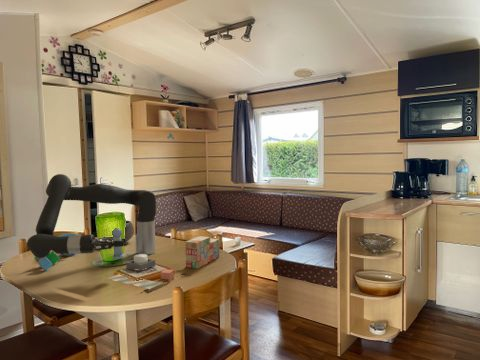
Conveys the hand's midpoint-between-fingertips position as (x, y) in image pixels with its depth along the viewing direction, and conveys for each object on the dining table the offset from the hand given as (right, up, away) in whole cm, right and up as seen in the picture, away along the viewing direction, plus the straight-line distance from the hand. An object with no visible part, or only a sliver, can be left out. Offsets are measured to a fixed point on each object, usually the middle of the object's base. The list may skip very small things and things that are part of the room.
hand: (124, 242), depth 155 cm
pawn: (-3, -6, 0) cm, 7 cm away
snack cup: (-42, -14, +41) cm, 60 cm away
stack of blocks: (+30, -14, +27) cm, 43 cm away
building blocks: (-41, -15, +20) cm, 48 cm away
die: (+18, -16, 0) cm, 24 cm away
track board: (+5, -16, -4) cm, 17 cm away
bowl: (-24, -12, +66) cm, 71 cm away
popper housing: (+3, -15, +15) cm, 21 cm away
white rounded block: (+3, -13, +15) cm, 20 cm away
